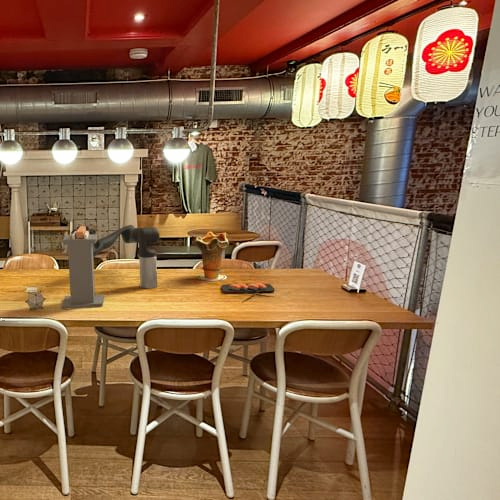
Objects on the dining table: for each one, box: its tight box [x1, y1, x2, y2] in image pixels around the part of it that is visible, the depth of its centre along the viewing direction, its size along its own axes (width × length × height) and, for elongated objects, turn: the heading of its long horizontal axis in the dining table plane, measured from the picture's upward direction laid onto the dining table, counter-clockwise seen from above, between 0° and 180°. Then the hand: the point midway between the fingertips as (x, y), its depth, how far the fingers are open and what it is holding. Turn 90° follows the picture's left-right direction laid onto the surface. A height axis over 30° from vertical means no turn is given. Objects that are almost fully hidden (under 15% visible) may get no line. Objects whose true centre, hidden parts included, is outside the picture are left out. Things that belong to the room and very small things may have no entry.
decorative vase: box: [195, 231, 230, 282], centre depth 252 cm, size 21×23×28 cm
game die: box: [24, 290, 47, 311], centre depth 190 cm, size 9×8×10 cm
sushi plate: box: [220, 282, 275, 303], centre depth 223 cm, size 29×30×4 cm
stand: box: [60, 231, 105, 310], centre depth 198 cm, size 18×17×34 cm
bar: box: [76, 225, 87, 238], centre depth 202 cm, size 22×3×3 cm, turn 17°
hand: (82, 227), depth 208 cm, fingers closed on bar, 3 cm apart
